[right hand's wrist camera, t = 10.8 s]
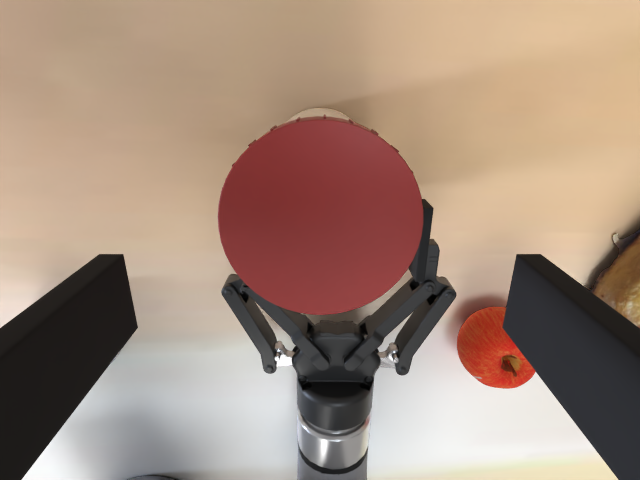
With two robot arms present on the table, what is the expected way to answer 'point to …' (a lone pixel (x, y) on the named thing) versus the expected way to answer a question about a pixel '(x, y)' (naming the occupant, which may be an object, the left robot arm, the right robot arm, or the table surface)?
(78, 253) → the table surface
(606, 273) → the bread
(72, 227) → the table surface
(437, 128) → the table surface
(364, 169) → the lid
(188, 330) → the table surface
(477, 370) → the apple
